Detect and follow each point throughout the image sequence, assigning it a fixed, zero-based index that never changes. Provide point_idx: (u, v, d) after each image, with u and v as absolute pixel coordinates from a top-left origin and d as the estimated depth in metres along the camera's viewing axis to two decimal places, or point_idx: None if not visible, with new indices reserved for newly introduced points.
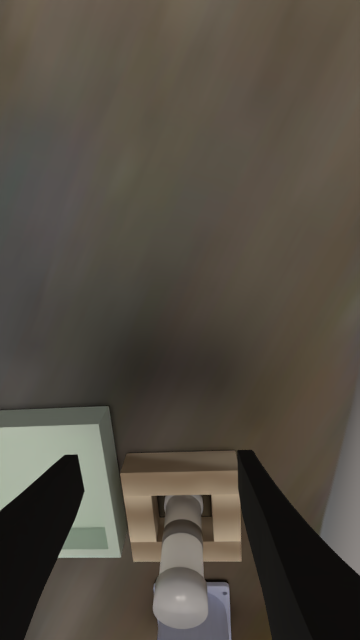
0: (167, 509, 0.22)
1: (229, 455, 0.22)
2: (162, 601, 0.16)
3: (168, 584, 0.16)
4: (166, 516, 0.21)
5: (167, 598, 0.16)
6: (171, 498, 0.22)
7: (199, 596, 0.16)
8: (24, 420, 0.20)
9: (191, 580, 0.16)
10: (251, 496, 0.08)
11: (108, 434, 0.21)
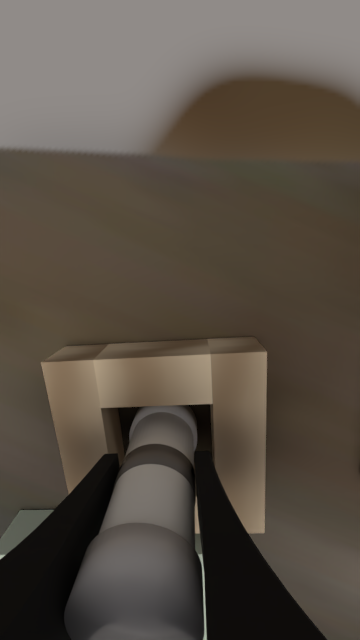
0: None
1: None
2: None
3: None
4: None
5: None
6: None
7: (79, 588, 0.06)
8: None
9: None
10: (198, 497, 0.09)
11: None
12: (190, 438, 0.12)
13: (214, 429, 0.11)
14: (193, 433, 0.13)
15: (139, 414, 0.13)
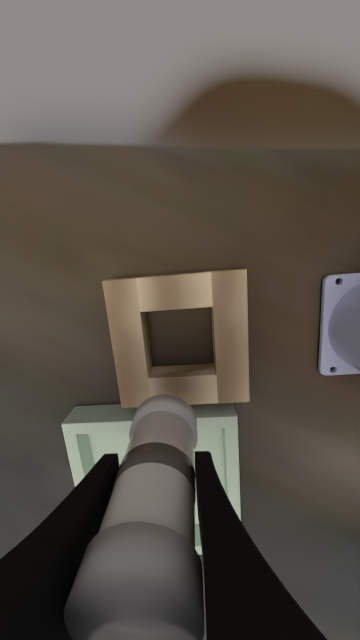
0: None
1: None
2: None
3: None
4: None
5: None
6: None
7: (79, 587, 0.06)
8: None
9: (77, 572, 0.07)
10: (198, 497, 0.09)
11: (94, 411, 0.21)
12: (190, 436, 0.12)
13: (214, 325, 0.18)
14: (193, 431, 0.13)
15: (139, 412, 0.13)
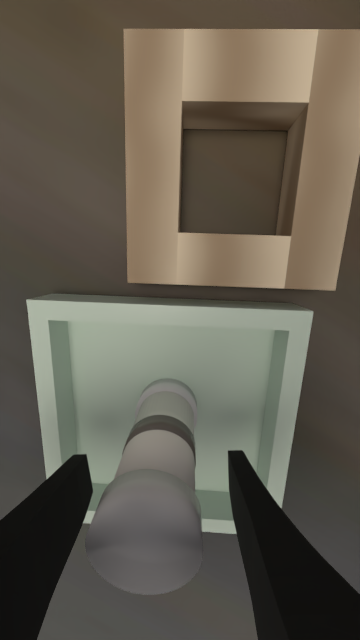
0: None
1: None
2: (122, 578, 0.08)
3: None
4: None
5: (113, 569, 0.08)
6: None
7: (99, 516, 0.07)
8: None
9: (96, 509, 0.08)
10: (239, 496, 0.08)
11: (82, 297, 0.14)
12: (191, 414, 0.13)
13: (303, 141, 0.10)
14: (193, 411, 0.14)
15: (144, 393, 0.14)
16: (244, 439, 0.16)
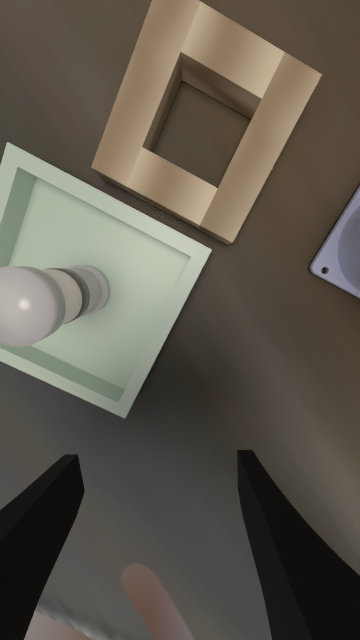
0: None
1: None
2: None
3: None
4: None
5: None
6: None
7: None
8: None
9: None
10: (251, 496, 0.08)
11: None
12: (98, 292, 0.17)
13: (249, 125, 0.14)
14: (102, 295, 0.17)
15: (70, 266, 0.17)
16: (134, 342, 0.19)
